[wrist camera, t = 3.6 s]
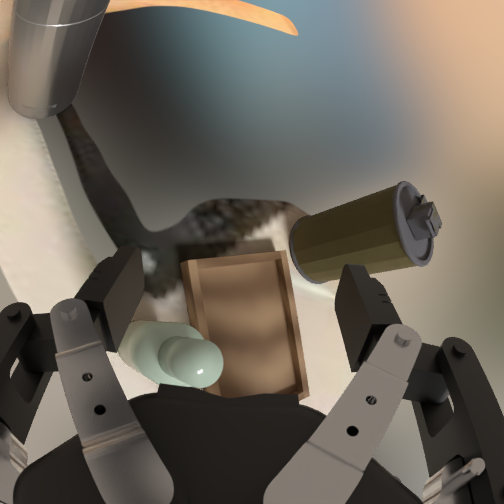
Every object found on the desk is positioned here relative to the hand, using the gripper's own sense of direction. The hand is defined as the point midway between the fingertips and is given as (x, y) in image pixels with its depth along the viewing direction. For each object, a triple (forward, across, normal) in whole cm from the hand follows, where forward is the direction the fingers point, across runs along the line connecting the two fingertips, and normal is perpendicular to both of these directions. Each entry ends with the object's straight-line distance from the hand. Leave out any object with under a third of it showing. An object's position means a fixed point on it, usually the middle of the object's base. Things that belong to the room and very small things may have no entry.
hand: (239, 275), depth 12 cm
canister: (+32, -10, +16) cm, 37 cm away
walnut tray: (+18, -1, +21) cm, 27 cm away
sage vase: (+11, +10, +17) cm, 23 cm away
